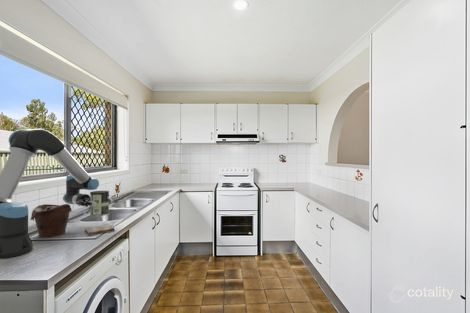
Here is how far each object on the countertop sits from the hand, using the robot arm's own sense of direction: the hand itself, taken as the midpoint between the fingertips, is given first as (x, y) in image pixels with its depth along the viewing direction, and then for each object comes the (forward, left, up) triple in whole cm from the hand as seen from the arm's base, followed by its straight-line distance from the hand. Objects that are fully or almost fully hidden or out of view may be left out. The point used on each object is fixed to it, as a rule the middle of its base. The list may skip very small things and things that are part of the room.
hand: (104, 202), depth 153 cm
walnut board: (-2, +4, -18) cm, 18 cm away
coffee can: (-2, +4, -8) cm, 9 cm away
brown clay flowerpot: (-25, +16, -18) cm, 34 cm away
